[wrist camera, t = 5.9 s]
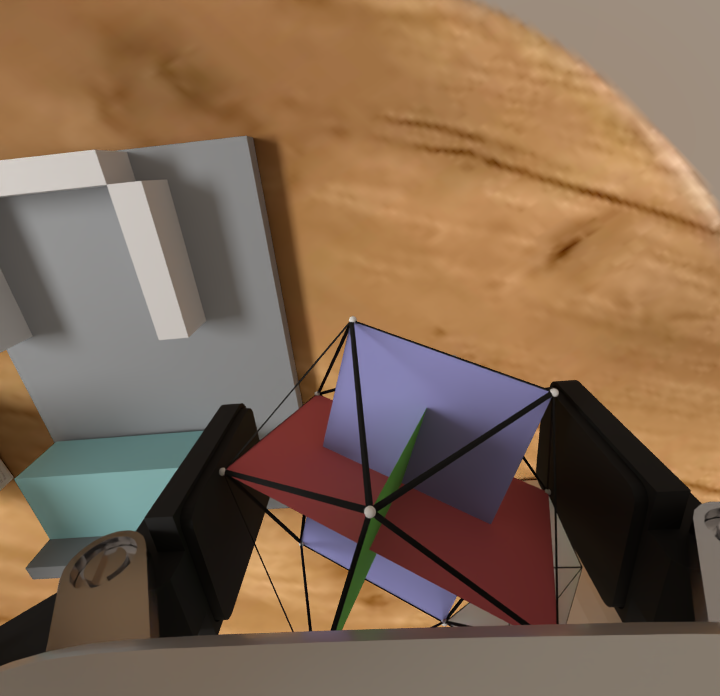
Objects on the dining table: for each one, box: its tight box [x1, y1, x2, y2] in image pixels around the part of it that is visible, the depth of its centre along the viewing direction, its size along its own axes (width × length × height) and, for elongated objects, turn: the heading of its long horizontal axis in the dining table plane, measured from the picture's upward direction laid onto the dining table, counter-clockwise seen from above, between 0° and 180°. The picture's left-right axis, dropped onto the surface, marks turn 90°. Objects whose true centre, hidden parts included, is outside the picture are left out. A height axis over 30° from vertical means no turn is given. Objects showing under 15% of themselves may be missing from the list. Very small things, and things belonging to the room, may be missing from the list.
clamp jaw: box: [14, 431, 203, 579], centre depth 25 cm, size 12×6×6 cm, turn 96°
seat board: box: [0, 136, 303, 509], centre depth 24 cm, size 17×24×4 cm
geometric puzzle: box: [219, 316, 583, 632], centre depth 9 cm, size 7×7×8 cm
